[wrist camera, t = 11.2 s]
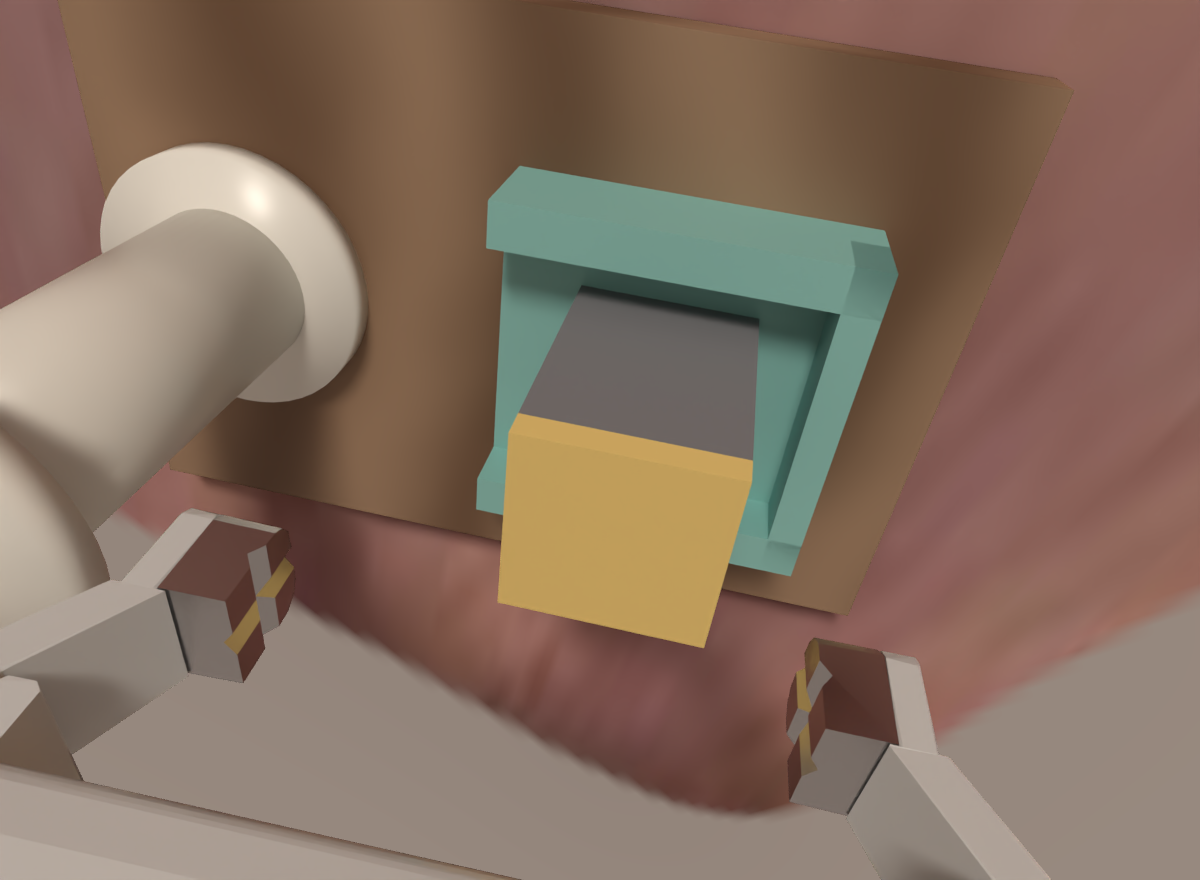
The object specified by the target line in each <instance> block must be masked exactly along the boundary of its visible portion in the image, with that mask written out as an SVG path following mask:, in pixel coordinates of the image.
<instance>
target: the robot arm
mask: <svg viewBox="0 0 1200 880" xmlns="http://www.w3.org/2000/svg"><path fill="white" fill-rule="evenodd" d="M290 548H291V543H290V537H289V532H288V531H286V530H284V529H281V528H277V527H273V526H269V525H264V524H260V523H256V522H251V521H247V520H243V519H238V518H234V517H230V516H226V515H219V514H215V513H211V512H206V511H202V510H197V509H193V508H191V509H189V510H187V511H185V512H183V513H181V514H180V515H179V516H178V517H177V519H176V520H175V521H174V522H173V523H172V524H171V525H170V526H169V528H168V529H167V530H166V531H165V532H164V533H163V534H162V535H161V537H160V538H159V539H158V540H157V541H156V542H155V543H154V544H153V546H152V547H151V548H150V549H149V550H148V551H147V552H146V553H145V555H144V556H143V557H142V558H141V559H140V560H139V561H138V562H137V564H136V565H135V566H134V567H133V568H132V569H131V570H130V571H129V573H128V574H127V575H126V576H125V577H124V578H123V579H122V580H121V581H117V580H109V581H107V582H105V583H102V584H100V585H98V586H96V587H93V588H91V589H89V590H87V591H84V592H82V593H80V594H77V595H75V596H73V597H71V598H68V599H66V600H64V601H62V602H59V603H57V604H55V605H53V606H50V607H48V608H46V609H44V610H41V611H39V612H37V613H34V614H32V615H30V616H28V617H25V618H23V619H21V620H19V621H16V622H14V623H12V624H10V625H7V626H5V627H3V628H1V629H0V880H520V879H516V878H511V877H507V876H503V875H498V874H494V873H489V872H484V871H480V870H476V869H472V868H467V867H462V866H458V865H454V864H449V863H444V862H440V861H436V860H431V859H427V858H422V857H417V856H413V855H409V854H405V853H400V852H395V851H391V850H386V849H382V848H378V847H373V846H369V845H364V844H359V843H355V842H351V841H346V840H342V839H337V838H333V837H329V836H324V835H320V834H315V833H311V832H307V831H302V830H298V829H293V828H289V827H284V826H280V825H275V824H271V823H267V822H262V821H258V820H253V819H249V818H245V817H240V816H235V815H231V814H226V813H222V812H218V811H213V810H209V809H205V808H200V807H196V806H191V805H187V804H183V803H178V802H173V801H169V800H165V799H160V798H156V797H151V796H147V795H143V794H138V793H133V792H129V791H124V790H120V789H116V788H111V787H107V786H102V785H98V784H94V783H89V782H85V781H84V780H83V778H82V776H81V774H80V772H79V770H78V767H77V766H76V763H75V761H74V759H73V757H72V754H73V753H75V752H77V751H78V750H79V749H81V748H82V747H84V746H85V745H87V744H88V743H90V742H91V741H93V740H94V739H96V738H97V737H99V736H100V735H102V734H103V733H105V732H106V731H108V730H109V729H111V728H112V727H114V726H115V725H117V724H118V723H120V722H121V721H123V720H124V719H126V718H127V717H128V716H130V715H132V714H133V713H135V712H136V711H138V710H139V709H141V708H142V707H143V706H145V705H147V704H148V703H149V702H151V701H152V700H154V699H155V698H157V697H158V696H160V695H161V694H163V693H164V692H166V691H167V690H169V689H170V688H172V687H173V686H175V685H176V684H178V683H179V682H181V681H182V680H184V679H185V678H187V677H188V673H191V674H197V675H202V676H207V677H212V678H218V679H223V680H229V681H234V682H239V683H244V681H245V680H246V678H247V676H248V675H249V673H250V672H251V670H252V669H253V667H254V665H255V664H256V662H257V661H258V659H259V657H260V656H261V654H262V653H263V651H264V650H265V645H264V639H263V634H265V633H267V632H269V631H271V630H273V629H274V628H276V627H278V626H279V625H280V624H281V622H282V620H283V619H284V617H285V615H286V614H287V612H288V610H289V607H290V604H291V601H292V598H293V595H294V590H295V580H296V578H295V570H294V567H293V566H292V565H291V563H290V562H289V561H288V560H287V559H286V558H285V556H286V554H287V553H288V551H289V550H290ZM804 654H805V668H804V669H802V670H800V671H798V672H796V675H795V677H794V680H793V682H792V685H791V688H790V693H789V698H788V702H787V714H786V732H787V735H788V736H789V738H790V739H791V741H792V742H793V744H794V747H793V749H792V752H791V754H790V756H789V758H788V783H789V802H792V803H796V804H801V805H805V806H809V807H813V808H817V809H821V810H825V811H830V812H834V813H837V814H842V815H846V816H847V818H846V819H847V821H848V823H849V825H850V826H851V828H852V830H853V832H854V833H855V835H856V837H857V839H858V840H859V842H860V844H861V845H862V847H863V849H864V851H865V853H866V854H867V856H868V858H869V860H870V861H871V863H872V865H873V867H874V868H875V870H876V872H877V874H878V875H879V877H880V879H881V880H1051V879H1050V877H1049V876H1048V875H1047V874H1046V872H1045V871H1044V870H1043V869H1042V868H1041V867H1040V865H1039V864H1038V863H1037V862H1036V861H1035V859H1034V858H1033V857H1032V856H1031V855H1030V854H1029V852H1028V851H1027V850H1026V849H1025V847H1024V846H1023V845H1022V844H1021V843H1020V841H1019V840H1018V839H1017V838H1016V837H1015V835H1014V834H1013V833H1012V832H1011V831H1010V829H1009V828H1008V827H1007V826H1006V825H1005V823H1004V822H1003V821H1002V820H1001V819H1000V817H999V816H998V815H997V814H996V813H995V811H994V810H993V809H992V808H991V807H990V806H989V804H988V803H987V802H986V801H985V799H984V798H983V797H982V796H981V795H980V793H979V792H978V791H977V790H976V789H975V787H974V786H973V785H972V784H971V783H970V781H969V780H968V779H967V778H966V777H965V775H964V774H963V773H962V772H961V771H960V769H959V768H958V767H957V766H956V765H955V763H954V762H953V761H952V760H951V759H950V757H947V756H943V755H939V752H938V748H937V743H936V738H935V734H934V729H933V724H932V720H931V715H930V710H929V706H928V701H927V696H926V691H925V687H924V682H923V677H922V673H921V668H920V664H919V662H918V661H917V660H916V658H914V657H909V656H904V655H899V654H894V653H889V652H884V651H878V650H875V649H870V648H865V647H860V646H855V645H850V644H844V643H839V642H834V641H829V640H824V639H819V638H813V639H812V640H811V641H810V642H809V645H808V647H807V649H806V651H805V653H804Z"/></svg>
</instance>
